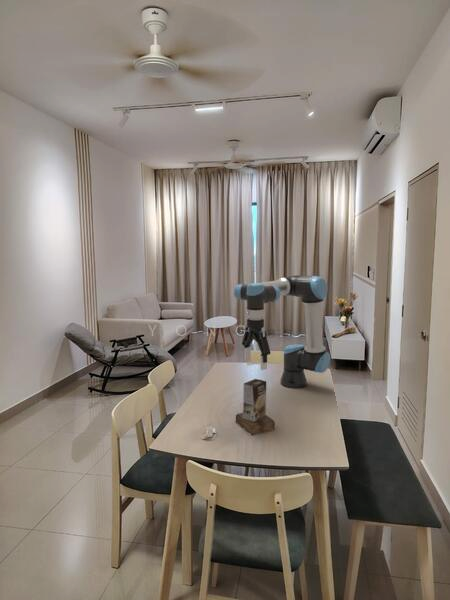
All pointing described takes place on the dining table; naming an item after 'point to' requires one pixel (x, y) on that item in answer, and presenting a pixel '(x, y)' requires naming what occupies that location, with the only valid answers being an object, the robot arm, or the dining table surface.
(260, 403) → the coffee box
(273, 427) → the walnut base
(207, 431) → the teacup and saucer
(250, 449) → the dining table surface
